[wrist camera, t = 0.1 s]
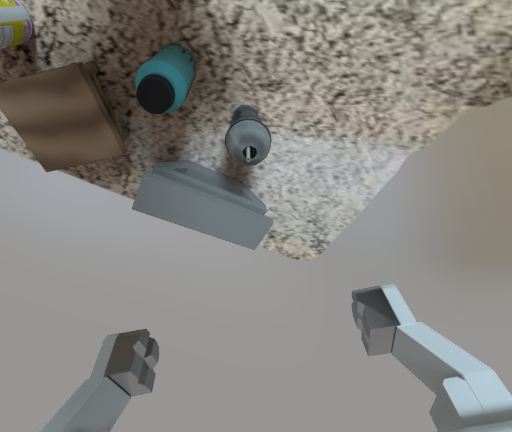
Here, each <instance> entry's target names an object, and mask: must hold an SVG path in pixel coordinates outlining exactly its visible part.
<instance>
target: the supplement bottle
mask: <svg viewBox="0 0 512 432" xmlns="http://www.w3.org/2000/svg"><path fill="white" fill-rule="evenodd" d="M31 35H32V22H31V19H30V16H29V14H28V12H27V11H26V9H25V8H24V7H23V5H22V4H21V3H20V2H19V1H18V0H0V49H4V48H8V47H12V46H16V45H20V44H23V43H25V42H27V41H28V40H29V39H30V37H31Z"/></svg>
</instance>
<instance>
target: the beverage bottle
mask: <svg viewBox="0 0 512 432" xmlns="http://www.w3.org/2000/svg"><path fill="white" fill-rule="evenodd" d="M195 66H196V65H195V63H194V60H193V58H192V56H191V55H190V53H188V52H187V50H185V49H184V48H183V47H182V46H181V47H180V46H175V44H174V45H170V46H168V45H167V47H165V48H163V49H162V50H160V52H158V53H157V54H156V55H155V56H154V57H153V58H152V59H150V60H149V61H147V62H146V63H144V64H143V65H142V66H141V67H140V68H139V69H138V71H137V73H136V76H135V88H136V91H137V92H136V94H137V99H138V102H139V104H140V105H141V106H142V107H143V108H144V109H145V110H146V111H148V112H150V113H153V114H162V113H170V112H173V111H175V110H177V109H178V108H180V107H181V105H182V104H183V102H184V100H185V98H186V97H187V96H186V95H188V94H187V92H188V91H189V90H190V89H189V88H190V87H191V83H192V81H193V79H194V76H196V74H195V71H196V70H195ZM192 84H193V83H192Z"/></svg>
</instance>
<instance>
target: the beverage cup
mask: <svg viewBox="0 0 512 432" xmlns="http://www.w3.org/2000/svg"><path fill="white" fill-rule="evenodd" d="M225 145H226V148H227V151H228V153H229V154H230V156H231V157H232V159H233V160H235V161H236V162H237V163H239V164H242V165H246V166H252V165H256V164H258V163H260V162H262V161H263V160H264V159H265V158H266V157H267V155H268V153H269V151H270V146H271V134H270V132H269V130H268V128H267V127H266V126H265V125H264V124H263V123H262V122H261V120H260V118H259V116H258V114H257V112H256V111H255V109H254V108H253V107H251V106H249V105H242V106H240V107H238V108H237V109H236V110H235V112H234V114H233V117H232V121H231V126H230V128H229V129H228V131H227V134H226V136H225Z"/></svg>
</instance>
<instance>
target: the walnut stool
mask: <svg viewBox="0 0 512 432" xmlns="http://www.w3.org/2000/svg"><path fill="white" fill-rule="evenodd" d="M99 70H100V67H99V65H98V64H97V63H96V62H94V61H90V62H88V63H86V64H84V65H83V63H82V62H80V63H76V64H72V65H68V66H64V67H60V68H56V69H52V70H48V71H44V72H39V73H35V74H31V75H27V76H23V77H19V78H15V79H11V80H7V81H3V82H0V109H1V111H2V112H3V113H4V115H5V116H6V117H7V119H8V120H9V122H10V123H11V124H12V126H13V127H14V128H15V130H16V131H17V132H18V134H19V135H20V137H21V138H22V139H23V141H24V142H25V143H26V145H27V146H28V147H29V149H30V150H31V152H32V153H33V154H34V156H35V157H36V158H37V160H38V161H39V162H40V164H41V165H42V167H43V168H44V169H45V171H46V172H50V171H54V170H59V169H63V168H68V167H72V166H77V165H81V164H86V163H90V162H95V161H99V160H103V159H108V158H112V157H117V156H121V155H124V154H125V153H126V151H127V149H126V147H125V145H124V143H123V142H124V141H125V139H126V138H127V137H128V135H129V134H130V129H129V128H128V127H126V126H122V127H121V126H120V124H119V122H118V120H117V118H116V116H115V114H114V112H113V110H112V108H111V106H110V104H109V102H108V100H107V98H106V96H105V94H104V92H103V90H102V88H101V86H100V84H99V82H98V80H97V78H96V76H95V74H96V73H98V72H99Z"/></svg>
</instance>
